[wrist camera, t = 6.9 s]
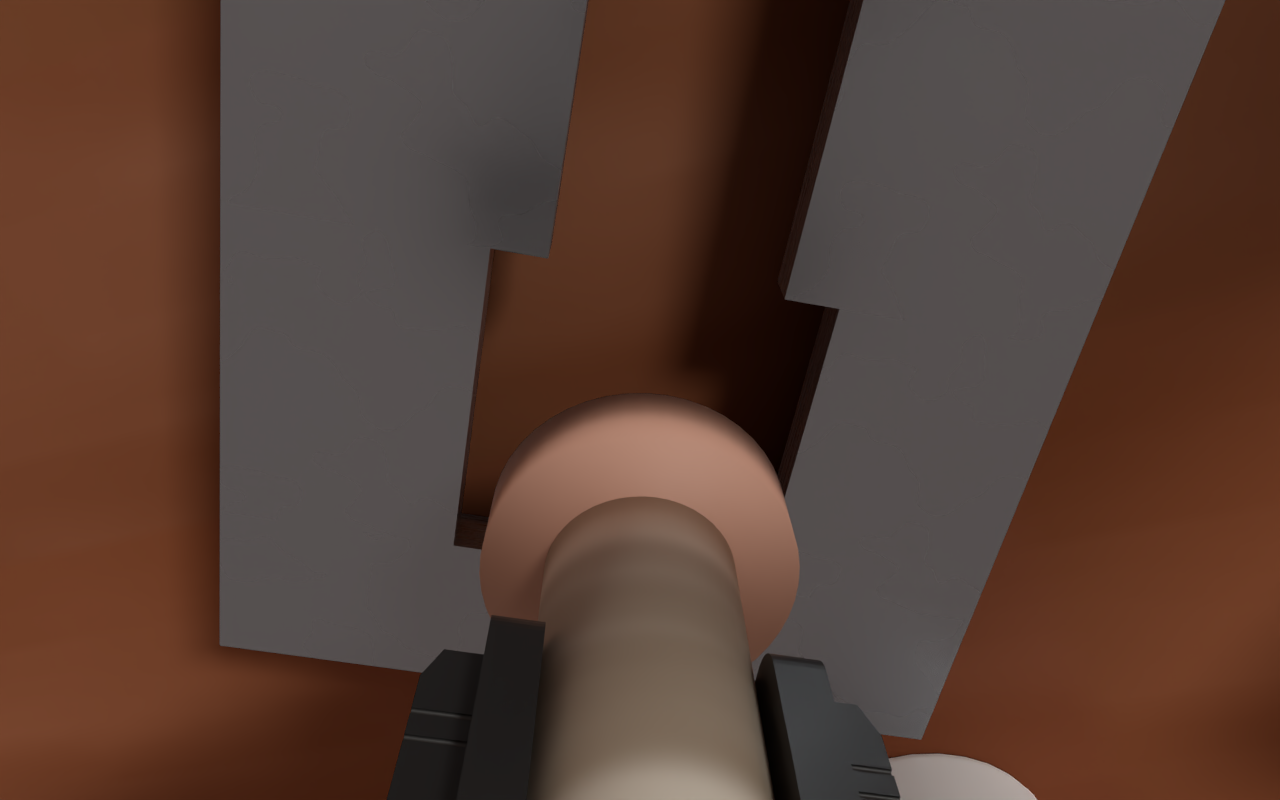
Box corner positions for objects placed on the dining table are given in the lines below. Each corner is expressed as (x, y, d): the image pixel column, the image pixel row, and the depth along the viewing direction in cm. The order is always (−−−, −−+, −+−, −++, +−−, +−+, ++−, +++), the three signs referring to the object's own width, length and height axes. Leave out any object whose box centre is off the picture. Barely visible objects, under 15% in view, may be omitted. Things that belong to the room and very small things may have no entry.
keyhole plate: (308, -788, 15) (222, -979, 11) (1317, -524, 16) (1484, -629, 13) (271, 552, 25) (219, 645, 22) (886, 640, 26) (921, 739, 23)
